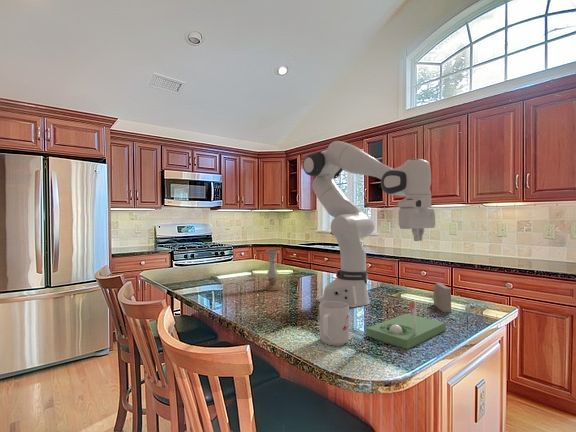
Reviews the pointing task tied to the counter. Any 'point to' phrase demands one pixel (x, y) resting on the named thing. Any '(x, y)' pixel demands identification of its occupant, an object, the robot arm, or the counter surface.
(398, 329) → the ball
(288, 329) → the counter surface
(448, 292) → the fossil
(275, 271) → the candle holder
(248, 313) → the counter surface
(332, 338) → the mug
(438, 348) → the counter surface
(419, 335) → the green
